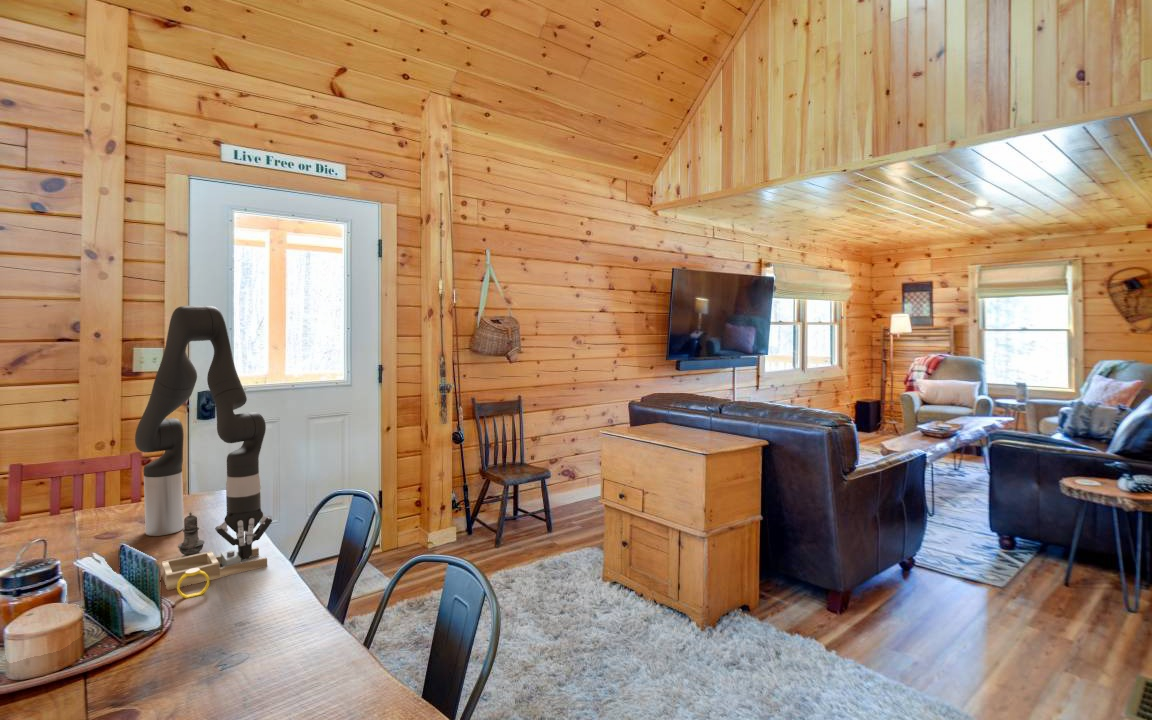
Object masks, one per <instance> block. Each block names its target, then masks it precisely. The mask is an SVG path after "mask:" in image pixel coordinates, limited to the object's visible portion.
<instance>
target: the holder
mask: <svg viewBox="0 0 1152 720" xmlns="http://www.w3.org/2000/svg"><path fill="white" fill-rule="evenodd" d="M259 550H260V549H259V547H257V546H256V547H252V555H251V556H249V559H250V558H254V556H255V557H258V555H260V551H259ZM236 552H237V554H238V551H236ZM180 557H181V558H180ZM180 557H177V558H173V559H172V558H171V559H167V560H164V561H161V577H162V580H163V583H164V585H166V586H165V588H166V591H171V590H175V589H174V588H176V589H177V583H178V581H179V579H180V578H181V577H182V576H183V575H184V574H185V572H186V571H187V570H189V569H192V568H199V569H200V570H201V571H204V572H205V573H206V574H207V575H208V577H209V581H212V580H217V579H220V578H223V577H227V576H232V575H236V574H241V573H245V572H248V571H252V570H257V569H261V568H265V567H268V557H266V556H264V557H261V558H257V559H253V560H247V561H243V562H241V563H238V564H234V565H230V566H225V567H223V566H220V565H222V564H221V554H220V555H216V556H215V554H214V553H213V551H212V550H210V551H206V552H205V551H204V552H200V554H195V555H190V556H185V557H182V556H180ZM241 559H242V558H241ZM204 581H205V582H207V578H206V577H205V576H204V575H203V574H199V573H198V574H196V575H193V576H187V577H185V578H184V579H183V580H182V582H181V584H180V588H183V587H182V586H184V587H187V585H188V586H191V584H192V585H196V584H201V583H204Z"/></svg>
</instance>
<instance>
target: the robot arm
mask: <svg viewBox="0 0 1152 720" xmlns="http://www.w3.org/2000/svg"><path fill="white" fill-rule="evenodd" d="M168 325H169V326H168V330H167V335H166V342H165V347H164V350H163V355H162V357H161V361H160V363H159V367H158V370H157V373H156V375H155V379H154V382H153V385H152V389H151V392H150V397H149V399H148V403H147V404H146V407H145V409H144V412H143V414H142V416H141V418H140V420H139V422H138V424H137V427H136V429H135V435H134V442H135V443H134V444H135V448H137V450H138V451H139V452H142V453H155V452H162V451H164V452H163V454H161V456H159V457H158V458H157V459H155V460H153V461H151V462H149V463H147V464H145V466H144V467H143V489H144V490H143V493H144V498H143V499H144V525H145V527H144V528H145V529H144V532H145V536H150V537H158V536H159V537H160V536H166V535H172V534H175V533H178V532H180V531H183V530H184V519H185V518H184V491H183V490H184V489H183V487H184V486H183V462H184V439H185V437H184V426H183V424H182V421H181V420H180V419H178V418H176V417H174V418H173V417H172V418H167V417H168V416H169V415H170V414H172V413H173V412H174V411H176V410H177V409H178V408H180V407H181V406H183V405H184V404H185V403H186V402H187V401H188V400H189V399H190V397H191V396H192V394H193V391H194V388H195V386H196V383H197V380H198V372H197V370H196V368H195V366H194V364H193V363H192V361H191V360H190V358H189V357H188V355H187V352H186V351H187V347H188V345H189V343H190V342H200V341H201V342H202V341H203V342H204V341H206V342H207V341H209V342H211V346H212V347H213V357H212V361H211V363H210V366H209V369H208V371H207V378H206V380H207V381H206V382H207V386H208V389H209V392H210V395H211V397H212V399H213V402H214V404H215V412H216V413H215V414H216V431H217V432H216V433H217V435H218V437H219V438H220V439H221V440H222V442H224V443H227V444H236V443H241V442H243V443H242V445H241V446H240V447H239V448H238V449H236V450H234V451H231V452H229V453H228V454H227V456H226V482H225V493H226V494H225V495H226V497H225V498H226V515H225V517H224V521H223V523H221V524H220V525H218V526H215V528H214V529H215V531H216V532H217V534H219V536H221V537H222V539H224V540H225V541H226V542H228V543H229V544H230V545H231V546H237V552H238V555H239V557H240V558H242V561H243V560H244V561H245V560H248V559H250V558H249V556H251V555H252V548H253V546H252V545H253V543H254V542H256V541H259V540H260V539H261V537H262V536H263V535H264V533H265V532H266V531H267V529H268V527H269V526H270V525H271V524H272V523H273V520H272V518H271V517H270V516H265V515H264V512H263V511H262V503H261V502H262V501H261V495H262V494H261V489H262V486H261V478H260V467H259V465H260V464H259V463H260V462H259V458H260V454H261V449H262V447H263V441H264V438H265V435H266V429H267V426H266V425H267V424H266V421H265V417H263V415H262V414H261V413H259V412H257V411H256V412H255V411H252V412H242V413H237V414H235V412H234V411H235V410H238V409H239V408H241V407H244V406H245V404H246V403H247V400H248V399H247V398H248V397H247V394H246V392H245V389H244V388H243V384H242V383H241V380H240V378H239V376H238V373H237V369H236V364H235V362H234V357H233V352H232V348H231V347H232V346H231V342H230V338H229V334H228V329H227V324H226V321H225V319H224V316H223V314H222V312H221V310H220V309H219V308H217V306H216V307H215V306H214V305H213V306H212V305H183V306H182V305H181V306H178V307H176V308H175V309H174V311H173V312H172V314H171V316H170V320H169V324H168ZM258 524H259V525H258ZM257 526H258V527H257ZM228 527H229V528H230V529H231V530H232V531H233V532H235V536H236V538H234V537H233V536H232V535H231V534H229V532H228V531H229V529H228ZM256 527H257V528H256ZM255 528H256V529H255ZM254 529H255V531H254Z"/></svg>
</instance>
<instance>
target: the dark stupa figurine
mask: <svg viewBox="0 0 1152 720" xmlns="http://www.w3.org/2000/svg"><path fill="white" fill-rule="evenodd" d="M183 519H184V528H183V529H182V532H183V533H184V534H183V535H184V536H183V541H182V542H180V543H179V544H178V545H177V548H178V551H179V552H180V553H181V554H182V556H180V557H179V558H181V557H185V556H190V555H195V554H200V553H201V551H202V549H203V548H204V544H205V542H206V541H205V540H203V539H200V537H199V530H200V528H199V527H198V517H197V516H196V515H193V513H192V512H191V511H190V512H189V515H187V516H186V517H184V518H183Z"/></svg>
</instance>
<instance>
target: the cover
mask: <svg viewBox="0 0 1152 720" xmlns="http://www.w3.org/2000/svg"><path fill="white" fill-rule="evenodd" d="M237 552H238V551H236V550H235V549H232V550H227V551H223V552H220V555H221V564H220V565H222V566H221V567H225V566H230V565H234V564H238V563H242V561H241V558H240V557H239V555H238V554H237Z"/></svg>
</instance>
